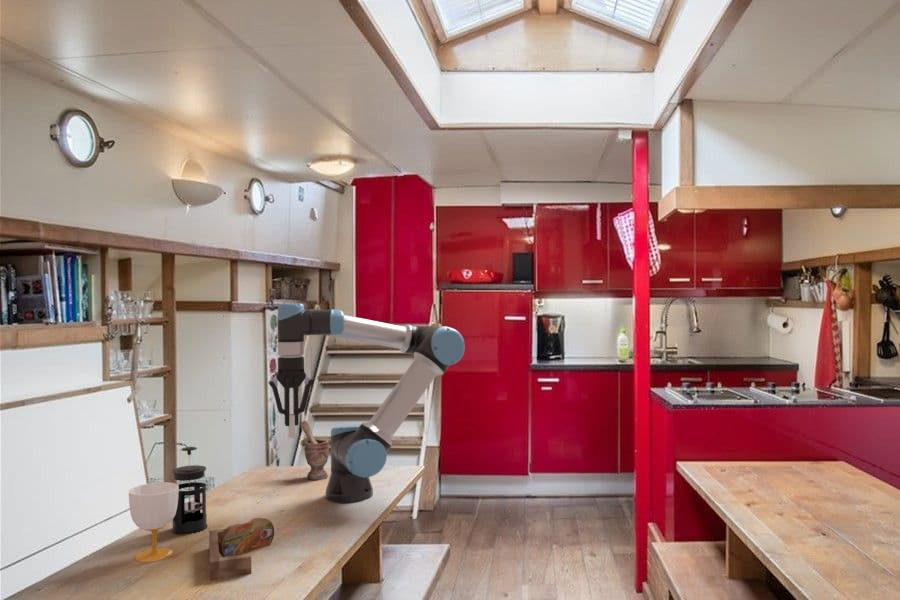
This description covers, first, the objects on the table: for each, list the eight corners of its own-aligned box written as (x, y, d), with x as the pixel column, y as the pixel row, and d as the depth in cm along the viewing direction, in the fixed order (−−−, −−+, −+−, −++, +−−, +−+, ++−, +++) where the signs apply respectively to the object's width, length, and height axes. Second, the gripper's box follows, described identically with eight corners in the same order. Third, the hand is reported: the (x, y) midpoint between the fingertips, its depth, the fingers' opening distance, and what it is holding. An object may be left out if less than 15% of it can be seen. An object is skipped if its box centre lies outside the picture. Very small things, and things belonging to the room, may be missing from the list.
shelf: (245, 545, 176) (245, 526, 176) (251, 578, 155) (251, 556, 155) (209, 550, 173) (209, 530, 173) (210, 584, 152) (210, 562, 152)
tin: (222, 565, 163) (222, 530, 163) (216, 562, 165) (215, 527, 165) (275, 547, 175) (275, 515, 175) (268, 544, 177) (268, 512, 177)
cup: (147, 568, 161) (146, 498, 161) (119, 558, 167) (118, 490, 167) (189, 552, 171) (188, 486, 171) (161, 544, 177) (160, 479, 177)
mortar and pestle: (293, 479, 240) (292, 423, 239) (303, 473, 248) (303, 419, 248) (323, 481, 237) (322, 424, 237) (332, 474, 245) (332, 420, 245)
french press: (183, 522, 195) (183, 443, 195) (214, 523, 194) (213, 443, 193) (161, 536, 183) (161, 452, 183) (194, 537, 182) (193, 453, 182)
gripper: (311, 354, 201) (312, 432, 201) (266, 356, 197) (267, 436, 197) (315, 356, 194) (316, 437, 194) (269, 358, 190) (269, 441, 190)
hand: (291, 436), depth 196 cm, fingers closed
